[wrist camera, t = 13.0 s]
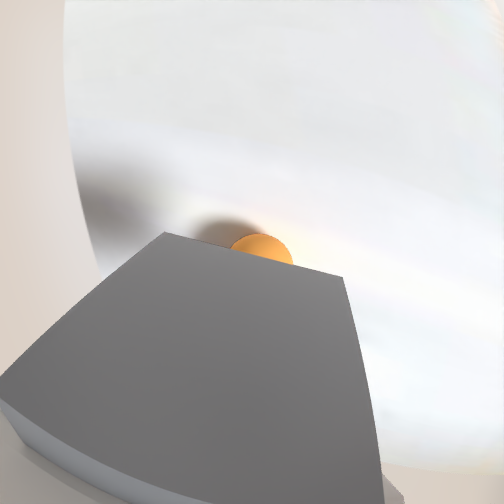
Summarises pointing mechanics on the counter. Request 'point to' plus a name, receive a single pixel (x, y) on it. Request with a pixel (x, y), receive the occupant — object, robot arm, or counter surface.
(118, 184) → the counter surface
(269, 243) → the ball
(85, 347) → the block
